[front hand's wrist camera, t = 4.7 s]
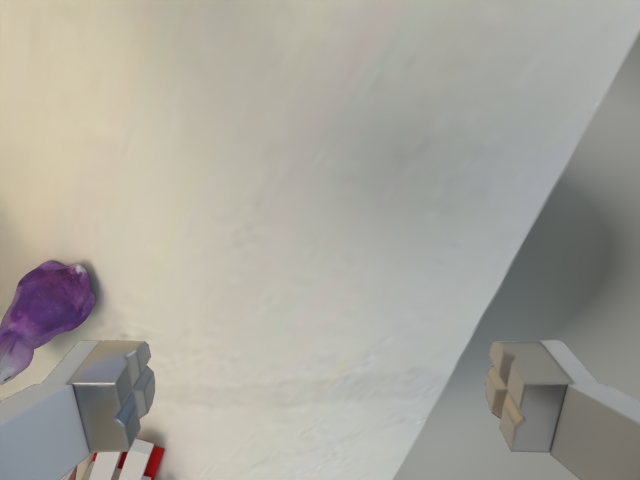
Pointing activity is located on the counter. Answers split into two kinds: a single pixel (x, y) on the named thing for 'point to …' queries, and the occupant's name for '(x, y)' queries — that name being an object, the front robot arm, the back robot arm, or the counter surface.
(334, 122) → the counter surface
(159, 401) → the counter surface
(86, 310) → the figurine
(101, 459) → the toy
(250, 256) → the counter surface
